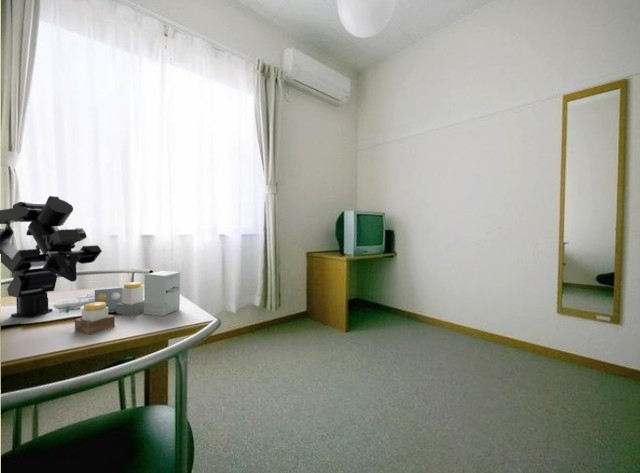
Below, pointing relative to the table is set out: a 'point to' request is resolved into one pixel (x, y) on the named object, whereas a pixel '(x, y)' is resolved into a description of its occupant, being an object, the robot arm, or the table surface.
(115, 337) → the table surface
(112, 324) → the walnut collar
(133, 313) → the grey collar
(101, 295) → the pattern card
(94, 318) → the lidded white jar
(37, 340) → the table surface
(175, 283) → the supplement box
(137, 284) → the yellow topped white block
